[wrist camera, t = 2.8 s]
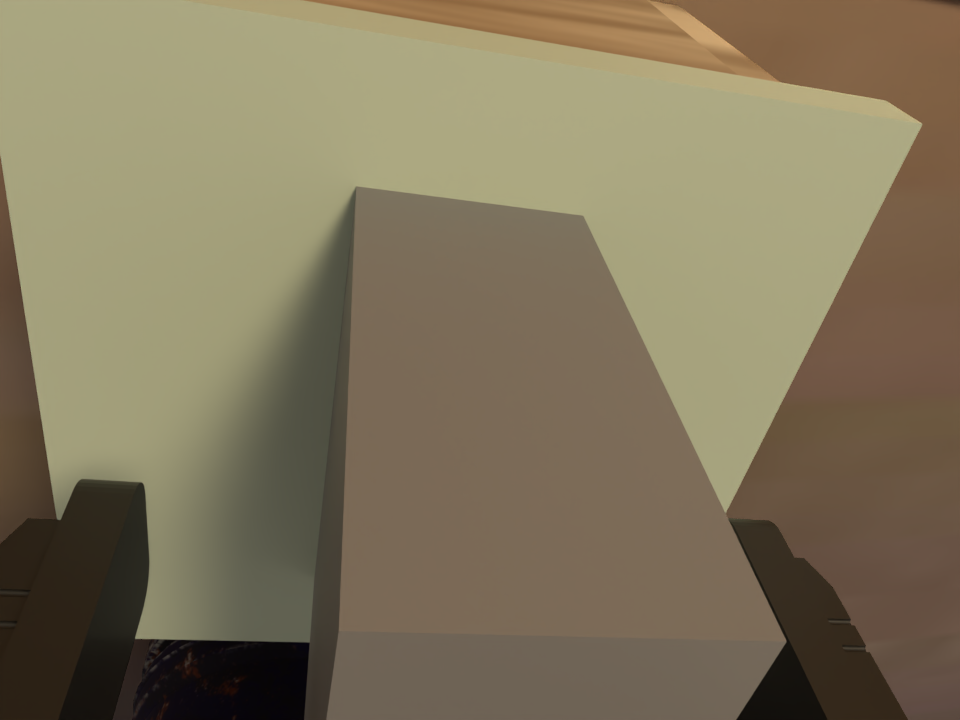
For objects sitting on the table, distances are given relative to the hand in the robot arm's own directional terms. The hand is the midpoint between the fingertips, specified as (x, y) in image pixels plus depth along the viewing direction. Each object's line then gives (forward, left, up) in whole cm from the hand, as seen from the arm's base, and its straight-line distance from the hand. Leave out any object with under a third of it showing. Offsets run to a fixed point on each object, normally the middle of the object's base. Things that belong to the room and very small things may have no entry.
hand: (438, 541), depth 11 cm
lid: (0, 0, -5) cm, 5 cm away
